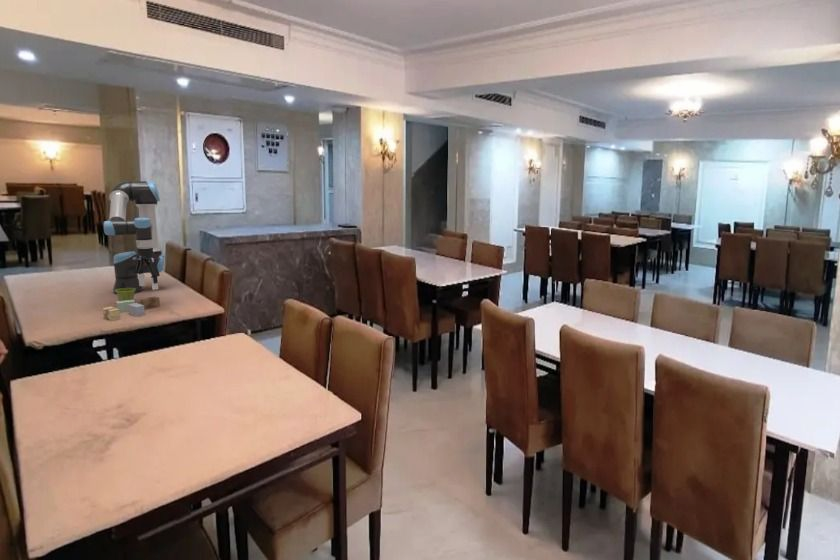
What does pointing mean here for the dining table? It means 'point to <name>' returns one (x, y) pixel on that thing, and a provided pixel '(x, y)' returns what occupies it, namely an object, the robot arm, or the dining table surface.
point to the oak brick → (111, 313)
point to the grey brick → (136, 309)
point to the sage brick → (124, 305)
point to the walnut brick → (150, 302)
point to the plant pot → (125, 294)
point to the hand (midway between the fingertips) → (148, 287)
